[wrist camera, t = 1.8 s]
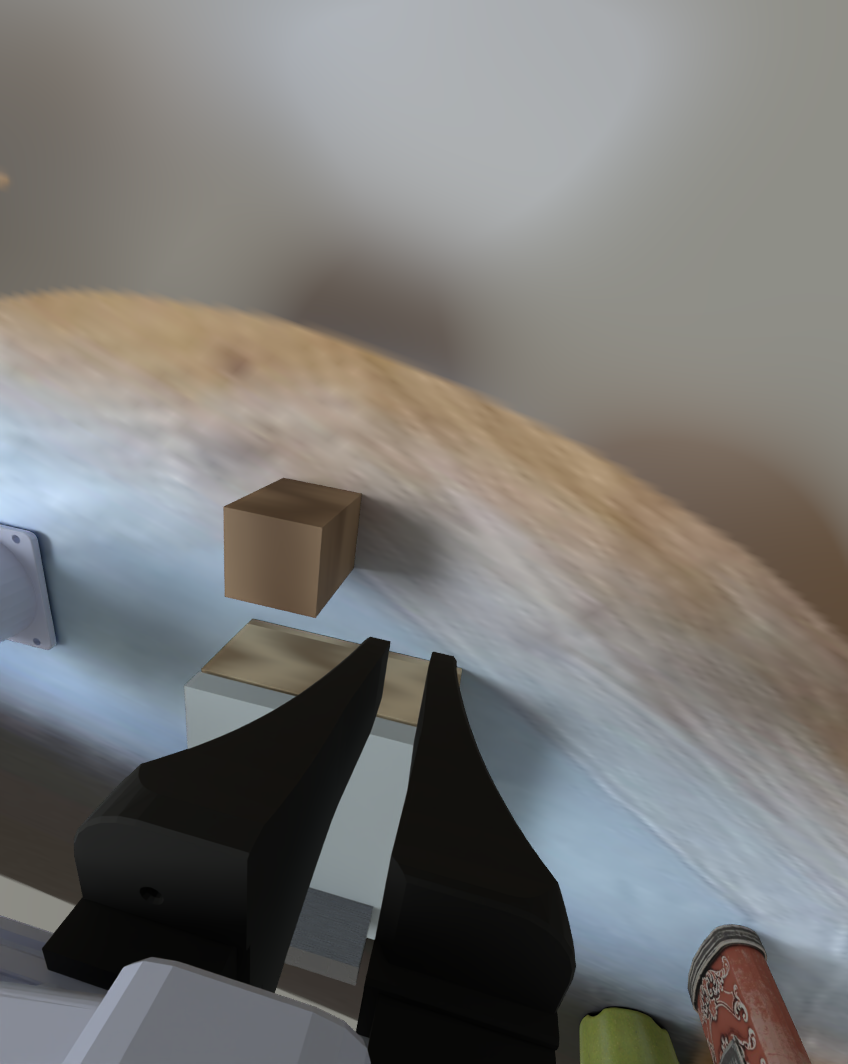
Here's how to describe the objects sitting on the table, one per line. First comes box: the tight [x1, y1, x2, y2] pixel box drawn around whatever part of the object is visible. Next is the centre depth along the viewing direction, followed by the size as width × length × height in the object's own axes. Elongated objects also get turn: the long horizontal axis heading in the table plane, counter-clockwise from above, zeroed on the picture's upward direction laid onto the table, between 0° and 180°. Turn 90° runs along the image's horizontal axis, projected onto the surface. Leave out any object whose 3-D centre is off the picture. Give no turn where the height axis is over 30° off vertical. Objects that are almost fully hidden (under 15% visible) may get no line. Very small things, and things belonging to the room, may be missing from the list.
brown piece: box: [201, 619, 462, 727], centre depth 25 cm, size 12×14×4 cm
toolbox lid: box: [184, 672, 417, 985], centre depth 21 cm, size 12×14×4 cm
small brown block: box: [224, 478, 362, 618], centre depth 20 cm, size 4×4×5 cm
